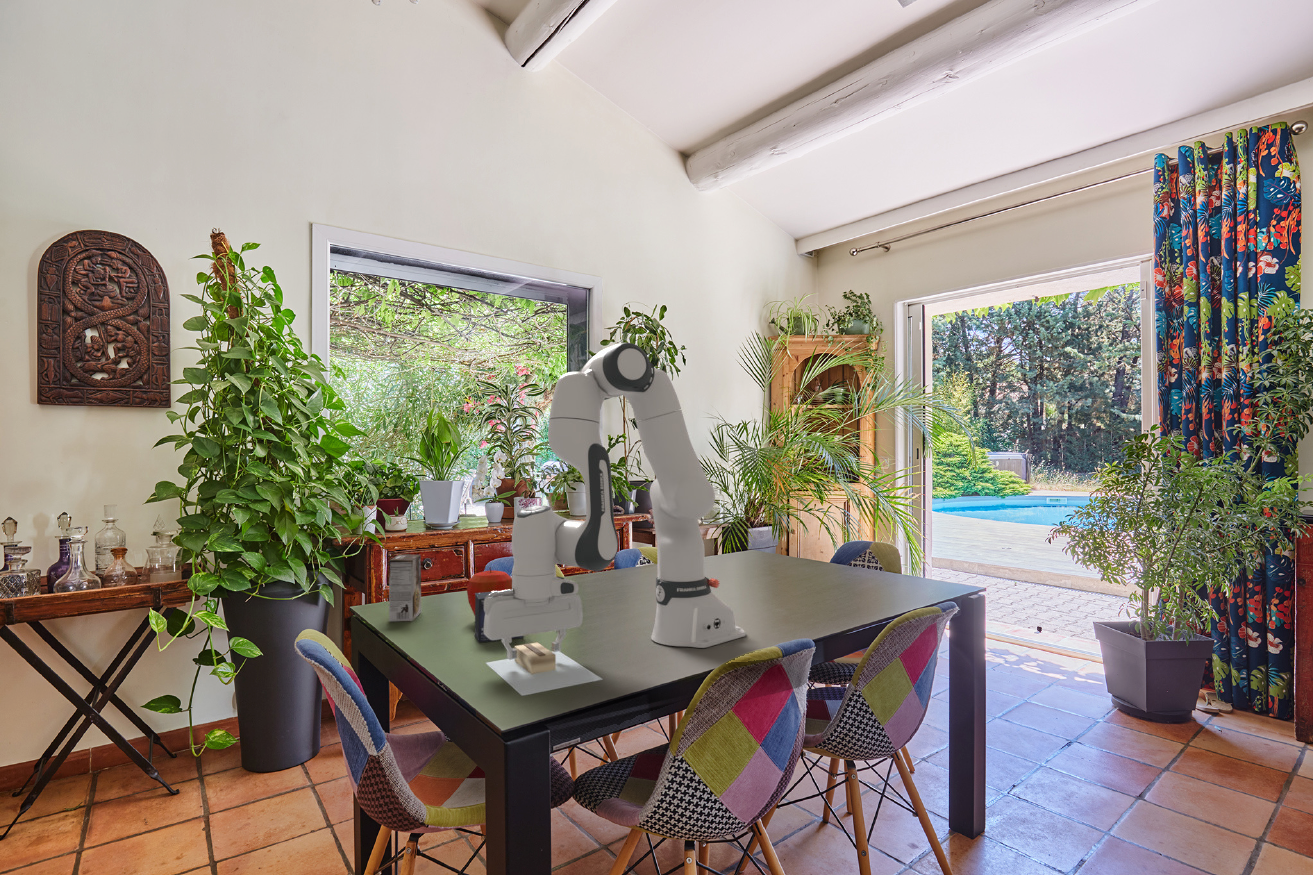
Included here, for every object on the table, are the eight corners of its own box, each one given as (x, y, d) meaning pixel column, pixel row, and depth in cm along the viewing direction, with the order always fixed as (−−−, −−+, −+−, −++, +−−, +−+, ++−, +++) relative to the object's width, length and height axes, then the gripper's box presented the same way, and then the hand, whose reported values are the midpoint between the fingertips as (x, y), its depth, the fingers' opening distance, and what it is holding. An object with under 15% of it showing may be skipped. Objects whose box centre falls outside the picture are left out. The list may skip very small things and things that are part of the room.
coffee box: (397, 613, 185) (397, 554, 185) (421, 612, 185) (421, 553, 186) (388, 621, 176) (387, 559, 176) (413, 621, 176) (413, 559, 177)
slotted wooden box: (555, 669, 134) (555, 653, 134) (531, 674, 132) (531, 657, 132) (537, 656, 143) (537, 641, 143) (514, 660, 140) (514, 645, 140)
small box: (478, 644, 155) (478, 598, 155) (474, 636, 161) (473, 592, 161) (524, 638, 159) (524, 593, 159) (518, 631, 165) (518, 588, 165)
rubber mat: (557, 653, 147) (557, 650, 147) (602, 682, 128) (602, 679, 128) (485, 665, 139) (485, 662, 139) (522, 698, 120) (522, 695, 120)
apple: (515, 625, 171) (514, 569, 171) (465, 629, 168) (465, 572, 168) (513, 614, 183) (513, 562, 183) (468, 617, 180) (467, 564, 180)
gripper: (488, 595, 129) (488, 667, 129) (585, 583, 140) (586, 650, 140) (479, 589, 135) (479, 659, 135) (573, 578, 145) (573, 643, 145)
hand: (534, 654), depth 137 cm, fingers open, 8 cm apart
